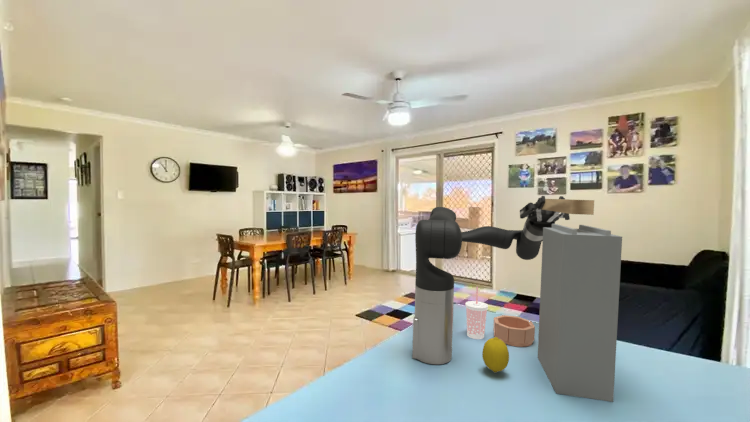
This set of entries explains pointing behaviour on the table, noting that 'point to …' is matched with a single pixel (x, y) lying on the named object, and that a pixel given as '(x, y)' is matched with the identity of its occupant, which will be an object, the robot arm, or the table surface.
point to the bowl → (514, 330)
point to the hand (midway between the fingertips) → (553, 199)
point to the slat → (570, 206)
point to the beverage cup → (476, 318)
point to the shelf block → (579, 310)
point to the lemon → (495, 354)
